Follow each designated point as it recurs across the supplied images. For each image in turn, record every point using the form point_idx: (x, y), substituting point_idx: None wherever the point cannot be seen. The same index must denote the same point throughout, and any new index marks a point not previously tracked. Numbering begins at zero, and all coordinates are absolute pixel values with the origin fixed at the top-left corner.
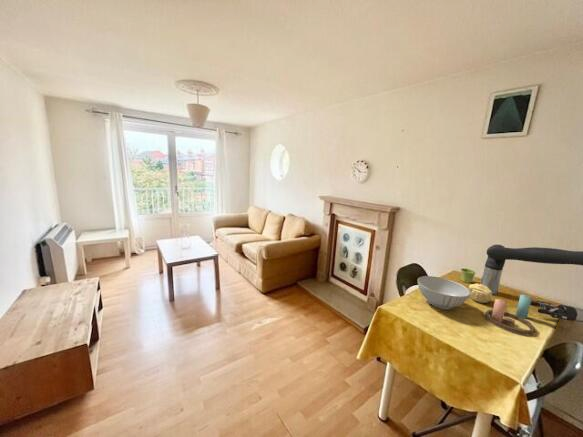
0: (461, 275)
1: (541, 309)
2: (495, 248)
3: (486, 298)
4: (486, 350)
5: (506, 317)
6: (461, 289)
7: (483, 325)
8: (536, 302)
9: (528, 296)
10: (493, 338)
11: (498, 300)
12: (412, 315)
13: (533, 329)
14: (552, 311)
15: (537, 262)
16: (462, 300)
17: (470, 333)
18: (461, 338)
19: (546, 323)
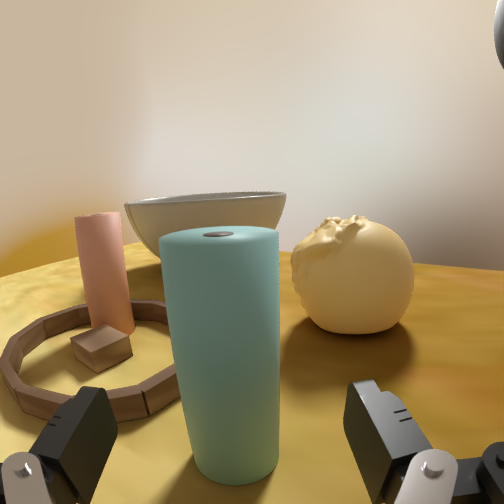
0: None
1: (76, 398)
2: (495, 12)
3: (294, 286)
4: (3, 287)
5: (120, 336)
6: (235, 216)
7: (86, 302)
8: (394, 440)
9: (245, 239)
10: (27, 302)
11: (102, 213)
12: (127, 251)
13: (6, 374)
14: (4, 491)
15: None
16: (131, 220)
17: (55, 283)
18: (44, 275)
19: None
